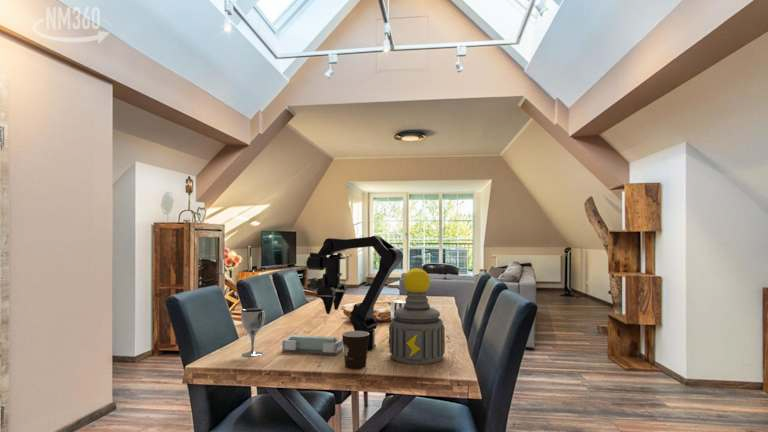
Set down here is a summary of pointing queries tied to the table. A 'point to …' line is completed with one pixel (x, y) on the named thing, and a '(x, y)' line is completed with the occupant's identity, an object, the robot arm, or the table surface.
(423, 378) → the table surface
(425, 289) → the decorative lamp
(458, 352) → the table surface
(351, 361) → the coffee mug
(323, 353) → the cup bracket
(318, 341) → the rail
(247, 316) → the wine glass
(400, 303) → the beer glass
